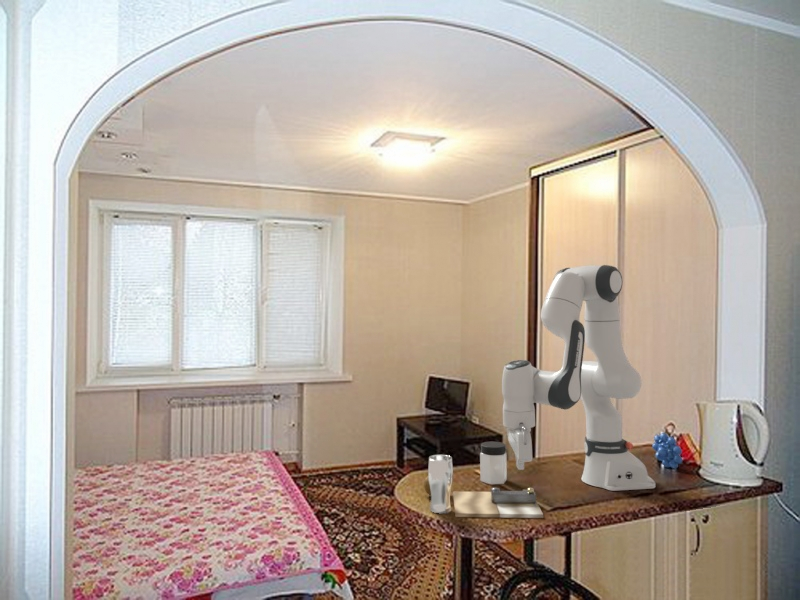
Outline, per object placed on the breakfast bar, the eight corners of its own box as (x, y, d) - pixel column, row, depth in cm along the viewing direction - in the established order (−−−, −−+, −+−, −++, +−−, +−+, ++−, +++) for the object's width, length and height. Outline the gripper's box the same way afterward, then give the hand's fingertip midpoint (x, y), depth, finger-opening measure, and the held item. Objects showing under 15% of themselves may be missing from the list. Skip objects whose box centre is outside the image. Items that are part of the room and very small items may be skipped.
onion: (452, 493, 179) (452, 467, 179) (443, 501, 172) (443, 474, 172) (430, 490, 182) (430, 464, 182) (419, 498, 175) (419, 471, 175)
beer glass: (425, 512, 163) (424, 459, 163) (432, 504, 170) (432, 453, 169) (449, 516, 161) (448, 462, 160) (455, 507, 167) (455, 455, 167)
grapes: (644, 465, 208) (644, 431, 208) (657, 462, 211) (657, 429, 211) (673, 473, 197) (673, 438, 197) (686, 470, 201) (686, 436, 201)
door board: (531, 495, 177) (531, 484, 177) (543, 517, 159) (543, 505, 159) (452, 494, 178) (452, 483, 178) (455, 516, 160) (455, 504, 160)
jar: (483, 485, 187) (483, 448, 186) (477, 477, 195) (476, 441, 195) (510, 483, 188) (510, 447, 188) (502, 476, 196) (502, 440, 196)
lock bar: (492, 503, 167) (491, 490, 167) (490, 499, 170) (490, 486, 170) (535, 503, 166) (535, 490, 166) (533, 499, 170) (533, 486, 169)
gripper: (537, 428, 151) (538, 480, 152) (524, 411, 172) (525, 457, 172) (513, 428, 152) (514, 480, 152) (502, 411, 172) (504, 457, 172)
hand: (520, 468), depth 162 cm, fingers closed
